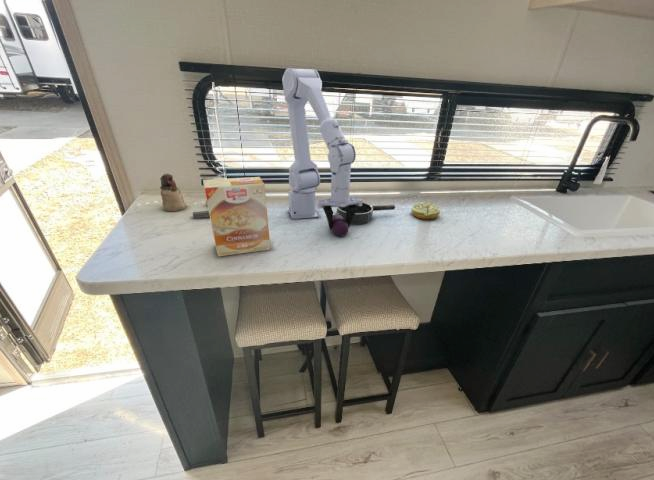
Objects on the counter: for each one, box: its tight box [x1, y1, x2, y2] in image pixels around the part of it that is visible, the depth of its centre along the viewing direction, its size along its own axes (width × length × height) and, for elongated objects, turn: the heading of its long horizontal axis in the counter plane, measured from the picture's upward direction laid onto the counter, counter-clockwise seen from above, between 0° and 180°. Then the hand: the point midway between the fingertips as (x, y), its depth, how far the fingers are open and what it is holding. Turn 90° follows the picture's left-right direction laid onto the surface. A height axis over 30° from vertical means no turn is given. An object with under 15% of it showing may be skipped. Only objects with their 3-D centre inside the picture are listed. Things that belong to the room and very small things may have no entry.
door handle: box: [192, 200, 210, 219], centre depth 118 cm, size 3×20×16 cm
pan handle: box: [371, 204, 396, 212], centre depth 124 cm, size 10×2×2 cm, turn 108°
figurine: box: [159, 172, 186, 212], centre depth 116 cm, size 7×7×12 cm
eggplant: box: [331, 213, 350, 237], centre depth 111 cm, size 12×5×5 cm, turn 18°
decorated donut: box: [410, 201, 441, 220], centre depth 127 cm, size 10×11×4 cm
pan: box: [336, 201, 374, 225], centre depth 121 cm, size 13×13×4 cm
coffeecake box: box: [202, 176, 271, 258], centre depth 93 cm, size 15×7×20 cm, turn 114°
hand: (338, 227), depth 111 cm, fingers open, 5 cm apart
